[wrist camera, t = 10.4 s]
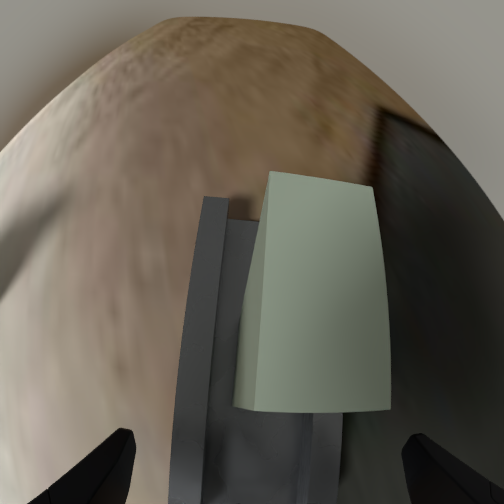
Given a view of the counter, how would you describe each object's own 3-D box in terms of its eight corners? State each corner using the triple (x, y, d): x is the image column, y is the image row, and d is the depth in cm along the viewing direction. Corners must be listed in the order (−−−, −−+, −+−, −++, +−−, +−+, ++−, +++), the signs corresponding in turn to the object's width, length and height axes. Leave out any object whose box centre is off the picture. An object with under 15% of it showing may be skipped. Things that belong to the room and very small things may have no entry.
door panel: (278, 409, 15) (390, 409, 5) (231, 406, 15) (253, 411, 5) (283, 321, 18) (372, 186, 7) (239, 317, 18) (269, 170, 7)
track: (317, 509, 13) (334, 525, 11) (175, 505, 13) (167, 522, 10) (322, 235, 22) (335, 210, 19) (205, 223, 21) (203, 196, 19)
